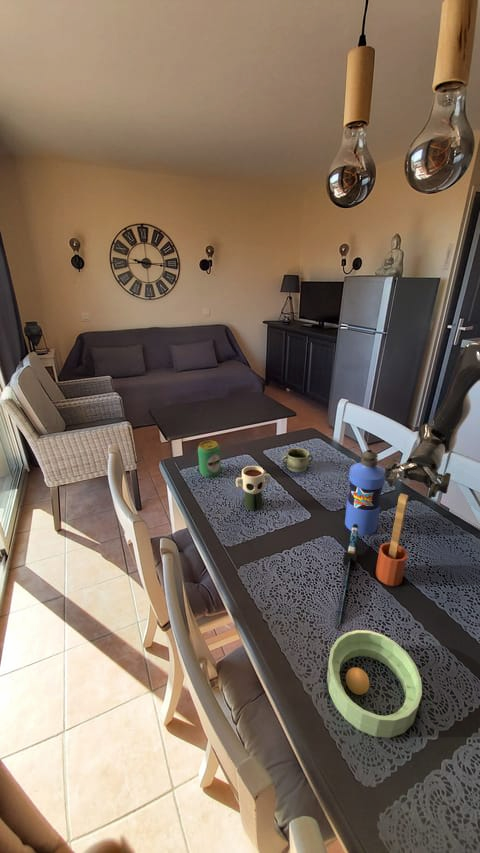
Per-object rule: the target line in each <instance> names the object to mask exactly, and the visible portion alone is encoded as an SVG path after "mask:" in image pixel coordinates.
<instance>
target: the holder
mask: <svg viewBox="0 0 480 853" xmlns="http://www.w3.org/2000/svg"><path fill="white" fill-rule="evenodd" d="M390 544H391V541H389V542H383V543H382V544H381V545H380V546H379V549H378V556H377V561H376V562H377V563H376V566H375V567H376V568H375V576H376V578H377V579H378V580H379V581H380V582H381V583H383V584H384V585H386V586H390V587H396V586H399V585H401V584H402V582H403V579H404V573H405V568H406V563H407V560H408V552H407V550H406V548H404V547H403V546H402V545H400V544H399V547H398V552H397V558H396V559H391V558H389V557H388V555H389V549H390Z"/></svg>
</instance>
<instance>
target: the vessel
mask: <svg viewBox="0 0 480 853" xmlns="http://www.w3.org/2000/svg"><path fill="white" fill-rule="evenodd" d="M309 458H311V459H309ZM313 460H314V456H313V455H312V454H311V453H310V452H309V450H307V449H305V448H301V447H292V448H289V449H288V450H287V451H286V455H283V456H282V457H281V462H282V463H283V467H287V469H288V470H289V471H291V472H294V473H301V472H302V473H303V472H305V471H306V470H307V468H308V466H310V465H311V464H312V462H313Z"/></svg>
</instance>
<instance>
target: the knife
mask: <svg viewBox="0 0 480 853" xmlns="http://www.w3.org/2000/svg"><path fill="white" fill-rule="evenodd" d="M358 536H359V534H358V525H357V524H354V525H353V527H352V530H351V531H350V538H349V544H348V549H347V551H344V553H343V560H342V565H343V566H346V567H347V570H346V575H345V583H344V589H343V596H342V601H341V608H340V614H339V623H338V624H339V626H340V625H341V621H342V617H343V611H344V610H343V609H344V605H345V604H344V603H345V598H346V593H347V588H348V582H349V577H350V572H351V568H354V569H356V566H357V559H358V555H357V553H356V549H357V543H358V542H357V541H358Z"/></svg>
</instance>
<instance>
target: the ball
mask: <svg viewBox="0 0 480 853" xmlns="http://www.w3.org/2000/svg"><path fill="white" fill-rule="evenodd" d="M345 684H346V686H347V689H349V691H351V693H352V694H355V695H358V696H361V695H364V694H366V693H367V692H368V690H369V688H370V678H369V677H368V674H367V672H365V670H363V669H362V668H361V667H357V666H356V667H351V668H350V669H348V671H347V672H346V675H345Z"/></svg>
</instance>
